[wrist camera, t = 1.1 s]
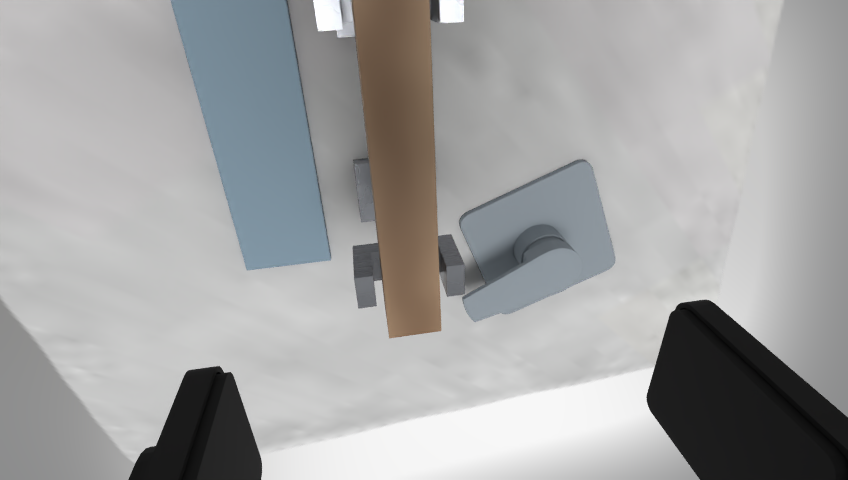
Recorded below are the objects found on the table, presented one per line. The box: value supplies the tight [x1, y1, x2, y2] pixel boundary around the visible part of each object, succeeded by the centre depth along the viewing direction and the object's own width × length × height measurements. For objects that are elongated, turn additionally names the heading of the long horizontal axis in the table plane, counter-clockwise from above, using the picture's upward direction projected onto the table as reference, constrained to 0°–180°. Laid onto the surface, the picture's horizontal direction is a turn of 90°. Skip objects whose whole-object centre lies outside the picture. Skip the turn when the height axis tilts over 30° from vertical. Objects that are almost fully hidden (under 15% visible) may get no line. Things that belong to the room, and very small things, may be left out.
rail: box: [351, 0, 441, 338], centre depth 23 cm, size 3×20×3 cm, turn 3°
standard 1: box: [353, 159, 465, 308], centre depth 31 cm, size 6×5×14 cm
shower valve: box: [459, 160, 615, 322], centre depth 41 cm, size 12×6×15 cm
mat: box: [171, 0, 331, 270], centre depth 33 cm, size 7×26×1 cm, turn 3°
